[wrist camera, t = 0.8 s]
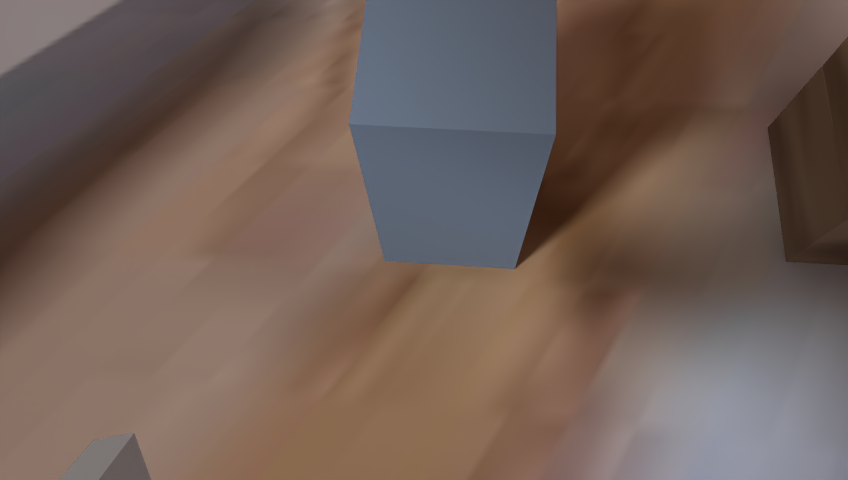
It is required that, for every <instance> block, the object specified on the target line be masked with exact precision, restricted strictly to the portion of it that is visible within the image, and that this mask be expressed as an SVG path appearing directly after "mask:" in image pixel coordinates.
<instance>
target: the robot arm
mask: <svg viewBox="0 0 848 480" xmlns="http://www.w3.org/2000/svg"><path fill="white" fill-rule="evenodd" d="M60 480H151V478H150V475H149V473H148V470H147V467H146V464H145V462H144V459H143V456H142V453H141V450H140V448H139V445H138V442H137V439H136V437H135V434H134V433H131V434H125V435H119V436H114V437H108V438H102V439H96V440H93V441H92V442H91V444H90V445H89V446H88V447H87V448H86V449H85V451H84V452H83V453H82V454H81V455H80V456H79V458H78V459H77V460H76V461H75V462H74V464H73V465H72V466H71V467H70V468H69V469H68V471H67V472H66V473H65V474H64V475H63V476H62V478H61V479H60Z"/></svg>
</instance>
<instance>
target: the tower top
mask: <svg viewBox="0 0 848 480" xmlns="http://www.w3.org/2000/svg"><path fill="white" fill-rule="evenodd" d="M823 71H824V77H825V82H826V88H827V93H828V99H829V104H830V110H831V115H832V121H833V126H834V132H835V137H836V143H837V148H838V154H839V159H840V165H841V170H842V176H843V181H844V187H845V192H846V198H847V203H848V37H847V39H846V40H845V41H844V42H843V43H842V44H841V45H840V47H839V48H838V49H837V50H836V51H835V52H834V53H833V55H832V56H831V57H830V58H829V59H828V60H827V61H826V62H825V64H824V65H823Z"/></svg>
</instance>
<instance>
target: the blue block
mask: <svg viewBox="0 0 848 480" xmlns="http://www.w3.org/2000/svg"><path fill="white" fill-rule="evenodd" d="M556 1H557V0H366V5H365V12H364V19H363V27H362V34H361V41H360V49H359V56H358V63H357V71H356V78H355V85H354V93H353V100H352V107H351V115H350V122H349V125H350V129H351V133H352V137H353V141H354V144H355V148H356V152H357V156H358V160H359V164H360V167H361V171H362V175H363V179H364V183H365V187H366V190H367V194H368V198H369V202H370V206H371V209H372V213H373V217H374V221H375V225H376V229H377V232H378V236H379V240H380V244H381V248H382V252H383V255H384V259H385V261H395V262H411V263H427V264H443V265H459V266H475V267H491V268H507V269H515V267H516V263H517V260H518V257H519V254H520V250H521V247H522V244H523V241H524V237H525V234H526V231H527V227H528V224H529V221H530V218H531V214H532V211H533V208H534V205H535V201H536V198H537V195H538V192H539V188H540V185H541V182H542V179H543V175H544V172H545V169H546V165H547V162H548V159H549V156H550V152H551V149H552V146H553V143H554V139H555V136H556Z"/></svg>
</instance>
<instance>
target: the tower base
mask: <svg viewBox="0 0 848 480" xmlns="http://www.w3.org/2000/svg"><path fill="white" fill-rule="evenodd" d="M768 133H769V140H770V147H771V154H772V162H773V169H774V176H775V184H776V191H777V198H778V206H779V213H780V220H781V228H782V235H783V242H784V249H785V257H786V262H804V263H822V264H839V265H848V203H847V198H846V192H845V187H844V181H843V176H842V170H841V165H840V159H839V154H838V148H837V143H836V137H835V132H834V126H833V121H832V115H831V110H830V104H829V99H828V93H827V88H826V82H825V77H824V71H823V67H821V68H820V69H819V70H818V71H817V73H816V74H815V75H814V76H813V77H812V78H811V79H810V81H809V82H808V83H807V84H806V85H805V86H804V87H803V89H802V90H801V91H800V92H799V93H798V94H797V95H796V97H795V98H794V99H793V100H792V101H791V102H790V103H789V104H788V106H787V107H786V108H785V109H784V110H783V111H782V112H781V114H780V115H779V116H778V117H777V118H776V119H775V120H774V122H773V123H772V124H771V125H770V126H769V127H768Z"/></svg>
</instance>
